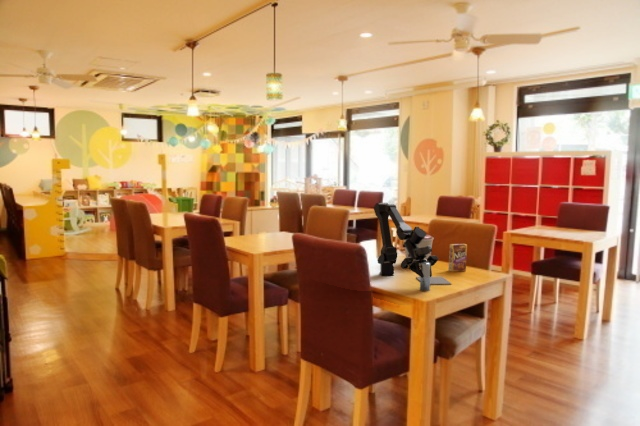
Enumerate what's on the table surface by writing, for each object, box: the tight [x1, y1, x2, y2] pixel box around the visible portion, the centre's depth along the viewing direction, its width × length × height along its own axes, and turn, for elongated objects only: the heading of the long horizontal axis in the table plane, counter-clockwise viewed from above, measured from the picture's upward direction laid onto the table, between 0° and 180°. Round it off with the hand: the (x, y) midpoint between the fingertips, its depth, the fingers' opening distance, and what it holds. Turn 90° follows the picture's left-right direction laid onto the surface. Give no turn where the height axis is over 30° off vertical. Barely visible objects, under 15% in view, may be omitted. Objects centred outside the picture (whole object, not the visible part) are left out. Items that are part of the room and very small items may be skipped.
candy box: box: [448, 243, 468, 272], centre depth 250 cm, size 9×4×15 cm, turn 103°
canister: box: [403, 234, 435, 267], centre depth 266 cm, size 18×18×21 cm
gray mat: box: [415, 276, 452, 286], centre depth 227 cm, size 14×14×1 cm
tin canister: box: [419, 262, 431, 292], centre depth 210 cm, size 4×4×13 cm
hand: (427, 276), depth 209 cm, fingers closed on tin canister, 4 cm apart
